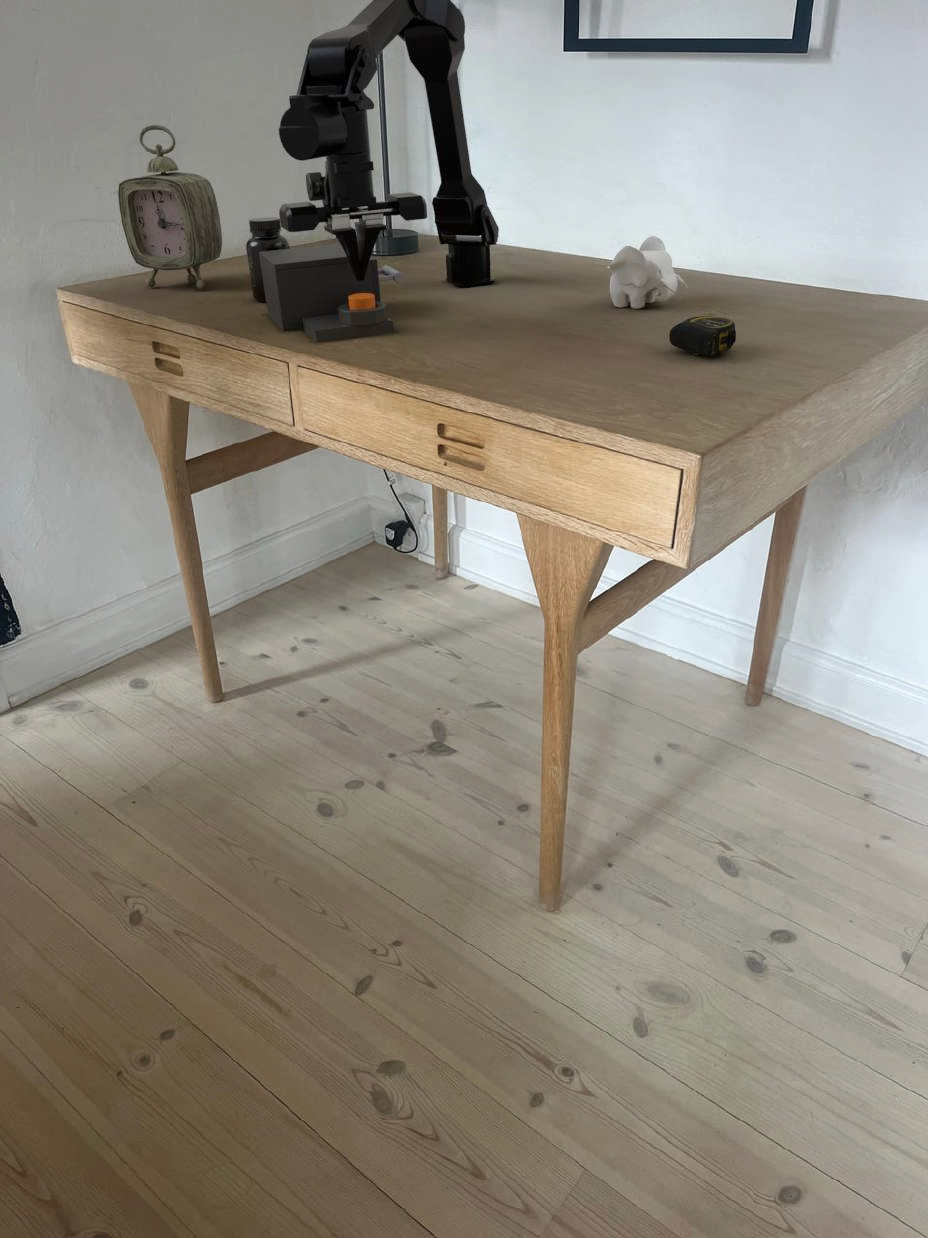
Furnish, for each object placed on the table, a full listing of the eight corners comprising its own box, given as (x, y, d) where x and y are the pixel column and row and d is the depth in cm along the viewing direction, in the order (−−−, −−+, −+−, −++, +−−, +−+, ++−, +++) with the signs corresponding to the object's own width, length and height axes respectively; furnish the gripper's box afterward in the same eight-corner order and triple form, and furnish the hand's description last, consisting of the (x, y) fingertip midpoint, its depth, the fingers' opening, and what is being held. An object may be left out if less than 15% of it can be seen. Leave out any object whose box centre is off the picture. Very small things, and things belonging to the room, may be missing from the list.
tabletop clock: (136, 289, 160) (101, 127, 147) (168, 278, 167) (138, 123, 154) (205, 292, 155) (175, 126, 142) (235, 282, 162) (209, 121, 149)
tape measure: (665, 352, 114) (667, 321, 112) (703, 341, 117) (706, 311, 115) (706, 363, 109) (709, 331, 107) (745, 352, 112) (749, 321, 110)
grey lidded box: (354, 304, 144) (347, 242, 139) (375, 319, 134) (369, 254, 130) (267, 314, 140) (258, 251, 135) (283, 331, 130) (274, 264, 126)
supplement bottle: (287, 303, 146) (276, 222, 140) (247, 302, 147) (234, 222, 141) (301, 293, 152) (292, 215, 146) (263, 293, 153) (251, 215, 147)
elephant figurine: (668, 316, 129) (673, 249, 125) (591, 308, 135) (593, 243, 130) (693, 301, 136) (699, 237, 131) (619, 294, 142) (622, 233, 137)
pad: (377, 320, 134) (375, 295, 132) (395, 333, 127) (393, 307, 125) (303, 330, 131) (300, 304, 129) (318, 344, 124) (314, 317, 122)
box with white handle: (388, 294, 144) (384, 245, 140) (409, 307, 136) (405, 255, 132) (283, 307, 139) (276, 257, 136) (298, 322, 131) (291, 268, 127)
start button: (371, 304, 129) (370, 291, 128) (378, 309, 126) (377, 296, 125) (346, 307, 128) (345, 294, 127) (353, 313, 125) (352, 299, 124)
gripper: (398, 143, 126) (406, 263, 134) (263, 153, 121) (280, 277, 129) (424, 148, 117) (431, 276, 125) (280, 159, 112) (297, 292, 120)
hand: (360, 280), depth 125 cm, fingers closed
